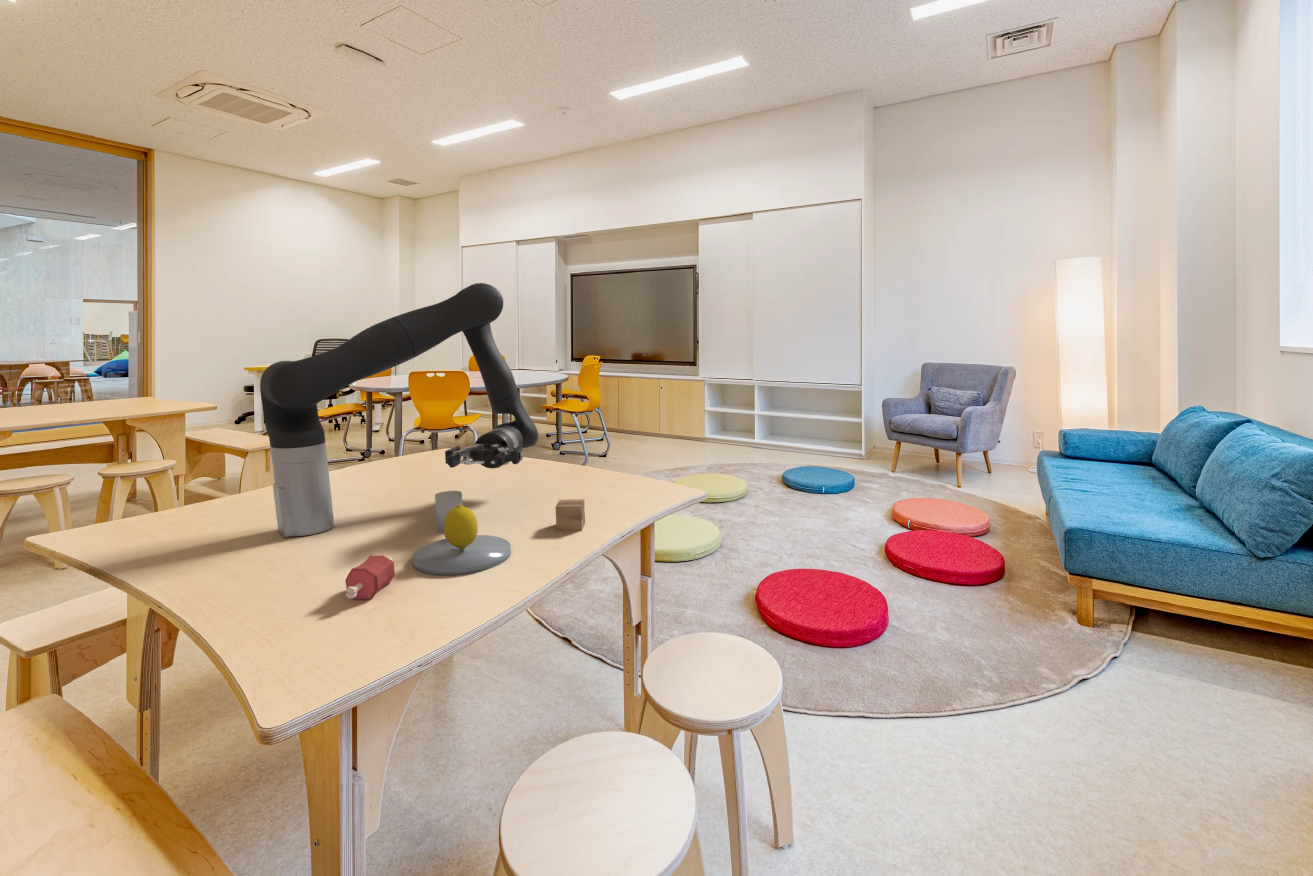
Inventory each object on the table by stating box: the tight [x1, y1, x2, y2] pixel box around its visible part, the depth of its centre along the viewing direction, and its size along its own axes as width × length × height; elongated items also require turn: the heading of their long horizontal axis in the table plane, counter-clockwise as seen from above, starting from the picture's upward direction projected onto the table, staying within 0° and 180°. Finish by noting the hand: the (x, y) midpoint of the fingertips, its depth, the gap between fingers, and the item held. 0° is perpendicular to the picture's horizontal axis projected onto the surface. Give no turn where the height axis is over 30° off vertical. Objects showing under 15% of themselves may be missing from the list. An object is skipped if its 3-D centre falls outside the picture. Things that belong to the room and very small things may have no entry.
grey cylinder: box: [434, 490, 464, 533], centre depth 117 cm, size 5×5×7 cm
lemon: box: [443, 505, 479, 550], centre depth 101 cm, size 6×6×8 cm
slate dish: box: [412, 534, 512, 576], centre depth 102 cm, size 16×16×1 cm
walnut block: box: [555, 498, 586, 532], centre depth 117 cm, size 5×5×5 cm
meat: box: [345, 554, 396, 600], centre depth 88 cm, size 12×5×5 cm, turn 178°
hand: (473, 462), depth 110 cm, fingers open, 8 cm apart
